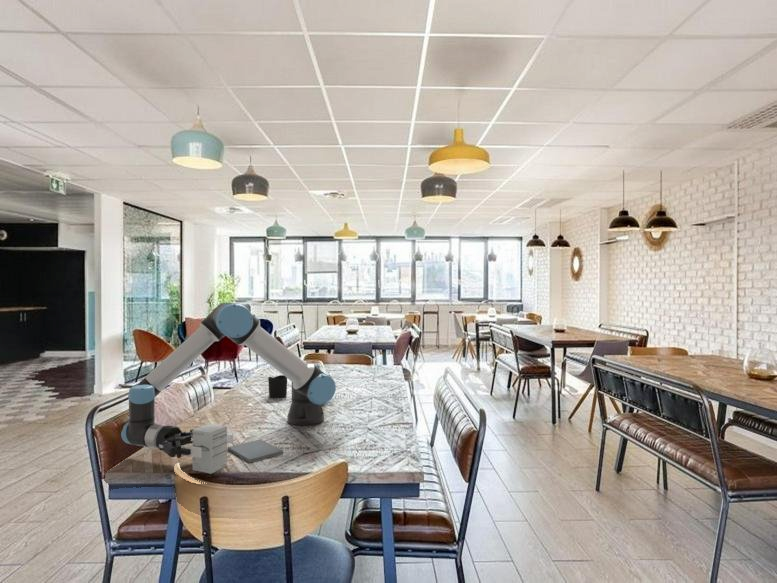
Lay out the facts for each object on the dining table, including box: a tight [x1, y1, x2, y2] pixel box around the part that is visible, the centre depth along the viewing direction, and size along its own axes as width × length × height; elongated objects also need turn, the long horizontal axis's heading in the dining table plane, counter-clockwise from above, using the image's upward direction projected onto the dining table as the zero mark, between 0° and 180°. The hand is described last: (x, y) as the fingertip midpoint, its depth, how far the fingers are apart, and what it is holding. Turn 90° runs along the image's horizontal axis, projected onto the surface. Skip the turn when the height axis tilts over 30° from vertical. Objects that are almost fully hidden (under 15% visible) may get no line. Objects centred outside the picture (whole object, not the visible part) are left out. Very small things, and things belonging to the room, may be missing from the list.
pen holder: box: [267, 374, 288, 399], centre depth 237 cm, size 9×9×10 cm
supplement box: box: [192, 423, 228, 475], centre depth 143 cm, size 7×7×13 cm
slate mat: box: [227, 438, 284, 463], centre depth 157 cm, size 16×12×1 cm
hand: (217, 445), depth 142 cm, fingers open, 13 cm apart
